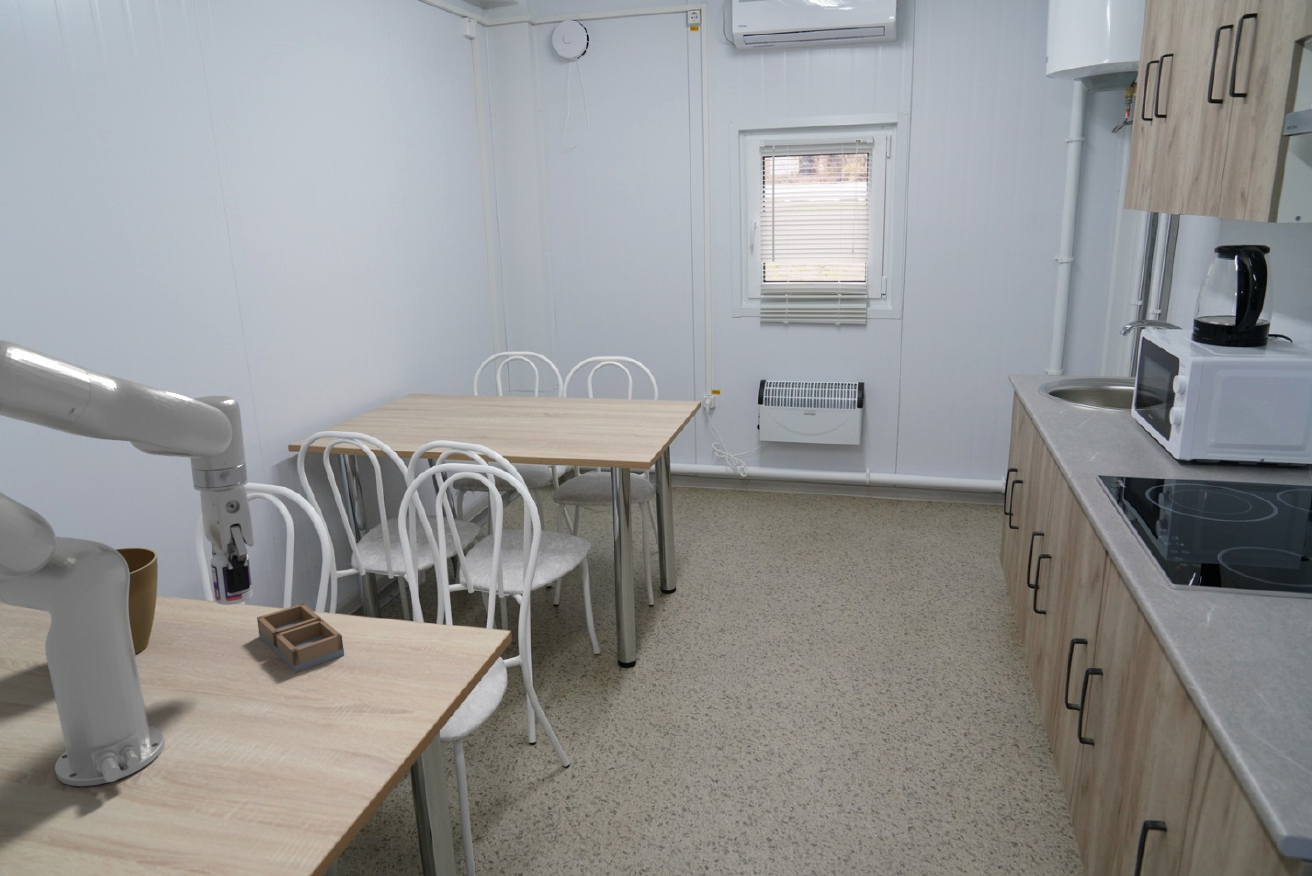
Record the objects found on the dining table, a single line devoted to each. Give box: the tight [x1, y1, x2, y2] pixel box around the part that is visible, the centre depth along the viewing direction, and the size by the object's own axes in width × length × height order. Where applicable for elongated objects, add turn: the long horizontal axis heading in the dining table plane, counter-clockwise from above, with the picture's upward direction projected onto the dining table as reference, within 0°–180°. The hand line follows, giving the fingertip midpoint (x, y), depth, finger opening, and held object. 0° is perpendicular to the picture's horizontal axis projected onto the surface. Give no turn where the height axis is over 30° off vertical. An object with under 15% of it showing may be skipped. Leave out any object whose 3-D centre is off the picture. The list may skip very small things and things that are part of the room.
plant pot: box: [114, 547, 159, 655], centre depth 143 cm, size 15×15×16 cm
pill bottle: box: [210, 544, 253, 606], centre depth 134 cm, size 5×5×10 cm
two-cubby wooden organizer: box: [256, 603, 345, 673], centre depth 145 cm, size 17×8×4 cm, turn 43°
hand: (232, 583), depth 135 cm, fingers closed on pill bottle, 5 cm apart
